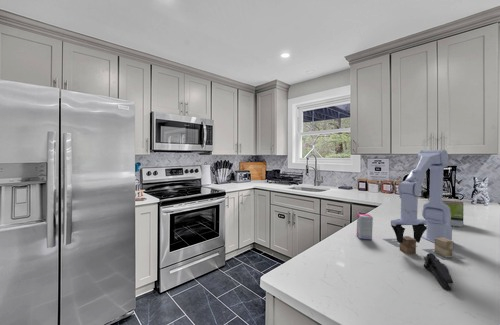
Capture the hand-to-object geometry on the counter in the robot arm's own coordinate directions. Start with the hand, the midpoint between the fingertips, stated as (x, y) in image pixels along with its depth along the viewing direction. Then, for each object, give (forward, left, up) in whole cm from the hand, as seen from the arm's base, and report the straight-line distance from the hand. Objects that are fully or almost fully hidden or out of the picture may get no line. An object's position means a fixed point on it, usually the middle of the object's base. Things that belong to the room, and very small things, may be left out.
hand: (408, 241), depth 95 cm
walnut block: (0, 0, -4) cm, 4 cm away
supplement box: (+9, -17, -5) cm, 20 cm away
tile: (-4, -10, -4) cm, 11 cm away
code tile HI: (-13, +3, -4) cm, 14 cm away
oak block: (-13, +3, -4) cm, 14 cm away
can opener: (+5, +20, -5) cm, 21 cm away
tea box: (-55, -38, -5) cm, 67 cm away
